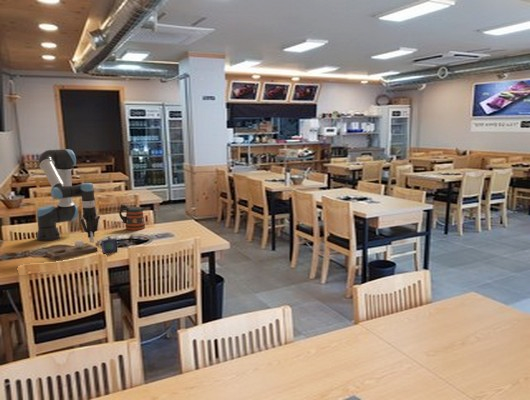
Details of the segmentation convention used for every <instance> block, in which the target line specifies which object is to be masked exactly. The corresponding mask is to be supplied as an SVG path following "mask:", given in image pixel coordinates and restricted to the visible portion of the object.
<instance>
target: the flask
mask: <svg viewBox="0 0 530 400" xmlns="http://www.w3.org/2000/svg"><path fill="white" fill-rule="evenodd" d="M100 241H101V242H100V243H101V253H108V254H113V253H112V252H115V253H118V240H117V238H116V237H110V236H109V235H108V236H107V237H106V238H104V239H101V240H100Z"/></svg>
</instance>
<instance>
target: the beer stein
mask: <svg viewBox="0 0 530 400" xmlns="http://www.w3.org/2000/svg"><path fill="white" fill-rule="evenodd" d="M123 211H126V212H125V213H126V214H125V216H124V215H123V214H122V212H123ZM143 211H144V207H143V206H141V207H140V206H127V205H126V204H120V207H119V213H118V215H119V217H120V219H121V220H122V223H123V224H125V228H126V230H128V231H140V229H141V230H144V229H145V228H146V224H145V220H144V212H143ZM143 228H144V229H143Z"/></svg>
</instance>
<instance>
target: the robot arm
mask: <svg viewBox="0 0 530 400" xmlns="http://www.w3.org/2000/svg"><path fill="white" fill-rule="evenodd" d="M37 162H38V166H39V167H38V168H39V169H40V170H42V171H43V173H44V175H45V177H46V178H47V181H48V182H49V184H50V186H51V189H50V195H51V198H52V199H53V200H59V202H57V206H56V207H55V205H46V206H42V207H39V208H37V209H36V219H37V220H36V221H37V228H38V229H37V234H36V237H35V238H36V241H38V242H48V241H55V240H59V239H60V238H61V235H60V231H59V230H58V228H57V224H60V223H61V224H62V223H67V222H73V221H75V220H77V218H78V216H79V210H78V206H77V205H76V204H75V202H74V201H73V198H78V197H81V204H82V205H81V207H82V216H81V218H79V219H78V220H79V221H80V223H81V226H82V229H83V231H84V232H85V234H86V233H87V237H88V238H89V243H94V242H95V241H94V237H95V235H96V234H95V233H96V231H97V232H98V228H99V221H100V219H101V217H100V216H99V215H97V212H96V207H95V206H96V204H95V191H94V190H95V187H94V184H93V183H92V182H85V183H84V182H83V183H81V184H76V185H73V183H72V170H74V166H76V164H77V158H76V154H75V152H74V151H73V150H72V149H66V148H65V149H64V148H63V149H49V150H45V151H44V152H42V153H41V154H40V156H39V157H38V161H37Z"/></svg>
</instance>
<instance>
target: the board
mask: <svg viewBox="0 0 530 400" xmlns="http://www.w3.org/2000/svg"><path fill="white" fill-rule="evenodd" d="M96 252H98V247H97V246H95V245H92V244H90V243H89V242H88V243H87V242H85V243H84V245H83V247H81V248H77V247H76V246H75V245H71V246H67V247H61V248H56V249H55V248H54V249H52V250H46V251H45V256H46V257H48V258H50V259H52V260H54V261H60V260H64V259H69V258H74V257H79V256H83V255H87V254H91V253H96Z"/></svg>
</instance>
